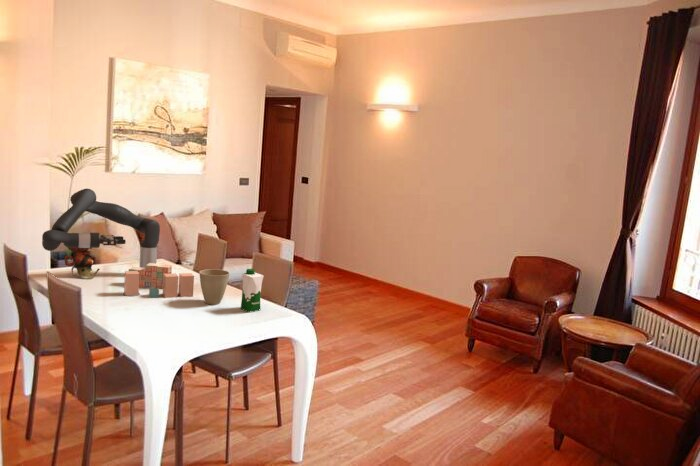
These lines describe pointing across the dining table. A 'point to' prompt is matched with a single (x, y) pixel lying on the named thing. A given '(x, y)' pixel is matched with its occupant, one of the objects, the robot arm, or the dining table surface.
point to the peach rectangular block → (186, 284)
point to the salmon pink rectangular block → (131, 283)
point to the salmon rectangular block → (170, 285)
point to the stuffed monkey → (81, 261)
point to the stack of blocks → (152, 274)
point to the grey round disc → (130, 295)
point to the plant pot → (213, 284)
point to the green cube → (153, 292)
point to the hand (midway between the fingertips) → (124, 240)
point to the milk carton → (251, 290)
